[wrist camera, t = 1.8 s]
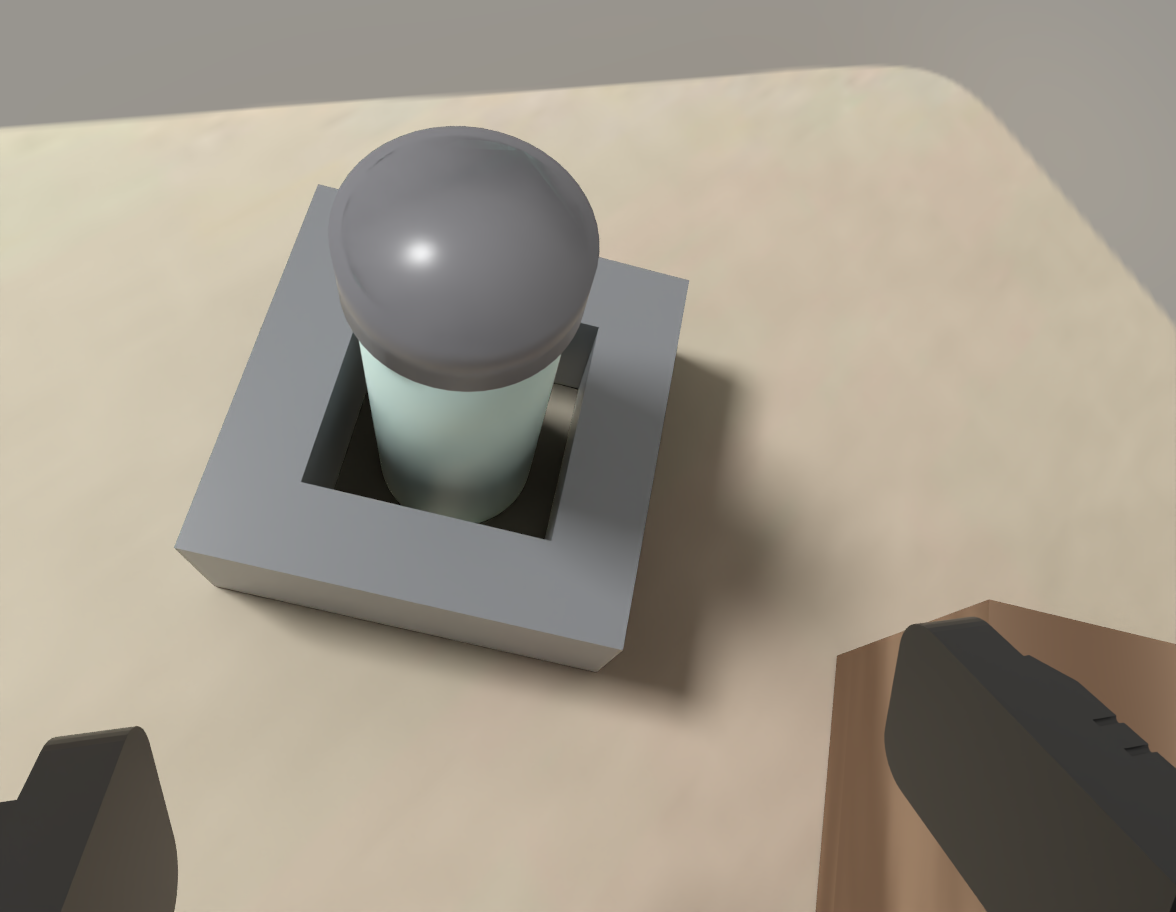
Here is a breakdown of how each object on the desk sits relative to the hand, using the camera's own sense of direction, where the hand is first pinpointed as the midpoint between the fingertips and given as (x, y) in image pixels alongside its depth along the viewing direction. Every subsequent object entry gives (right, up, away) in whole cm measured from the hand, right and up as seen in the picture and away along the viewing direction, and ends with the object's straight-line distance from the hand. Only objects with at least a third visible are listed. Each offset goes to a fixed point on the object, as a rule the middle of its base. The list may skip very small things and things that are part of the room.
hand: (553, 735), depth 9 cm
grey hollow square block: (-3, +3, +14) cm, 15 cm away
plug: (-3, +3, +14) cm, 15 cm away
